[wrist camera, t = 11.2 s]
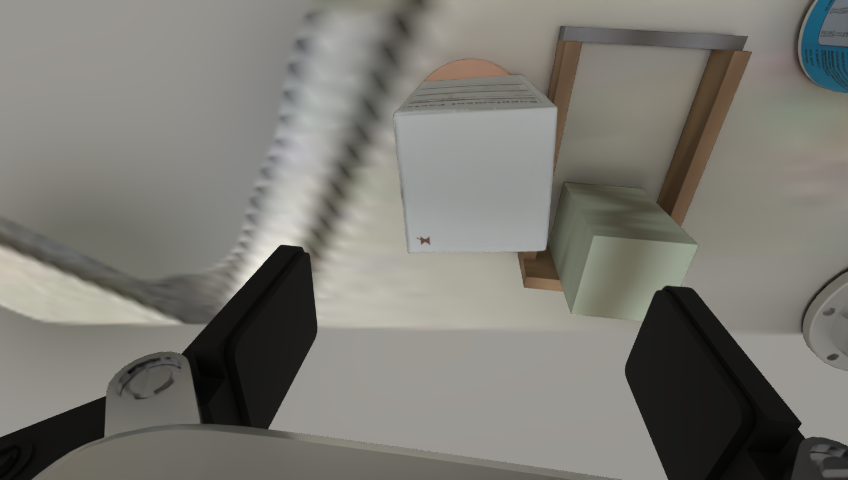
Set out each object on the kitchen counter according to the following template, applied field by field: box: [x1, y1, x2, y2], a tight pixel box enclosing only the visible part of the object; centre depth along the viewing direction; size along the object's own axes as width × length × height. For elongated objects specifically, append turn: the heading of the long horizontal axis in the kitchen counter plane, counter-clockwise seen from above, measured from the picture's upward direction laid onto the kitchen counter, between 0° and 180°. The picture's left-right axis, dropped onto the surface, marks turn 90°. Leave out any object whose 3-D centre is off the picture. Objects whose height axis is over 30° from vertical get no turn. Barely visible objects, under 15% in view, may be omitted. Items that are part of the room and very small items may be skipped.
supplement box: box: [393, 74, 558, 253], centre depth 24 cm, size 7×7×13 cm
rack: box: [518, 26, 752, 321], centre depth 27 cm, size 11×18×9 cm, turn 177°
